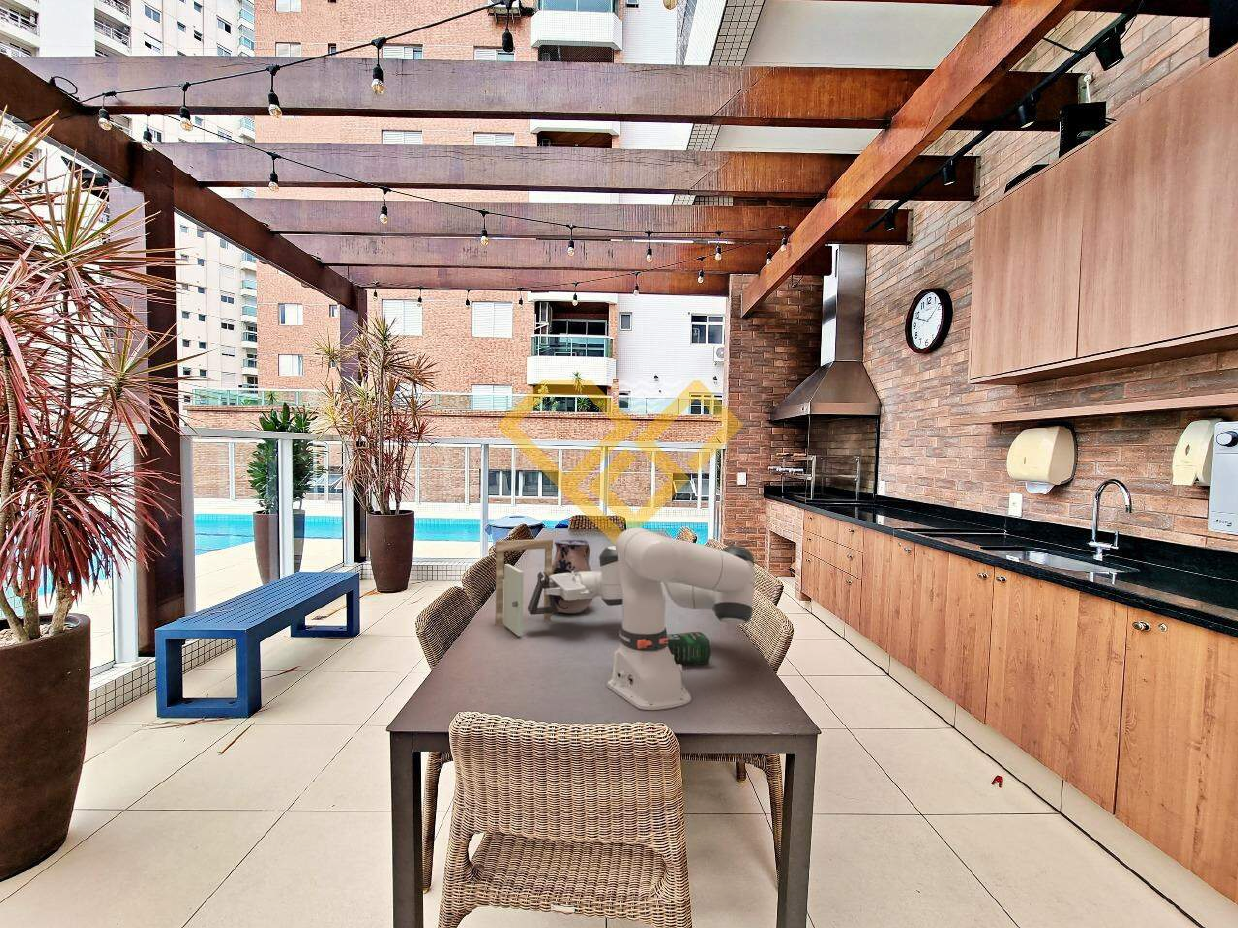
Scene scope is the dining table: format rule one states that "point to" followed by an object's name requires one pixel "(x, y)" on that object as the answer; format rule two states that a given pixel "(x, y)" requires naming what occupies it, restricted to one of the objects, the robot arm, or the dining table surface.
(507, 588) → the door
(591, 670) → the dining table surface
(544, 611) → the phone stand
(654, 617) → the robot arm
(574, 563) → the ceramic pitcher
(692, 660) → the coffee jar
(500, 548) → the door frame
